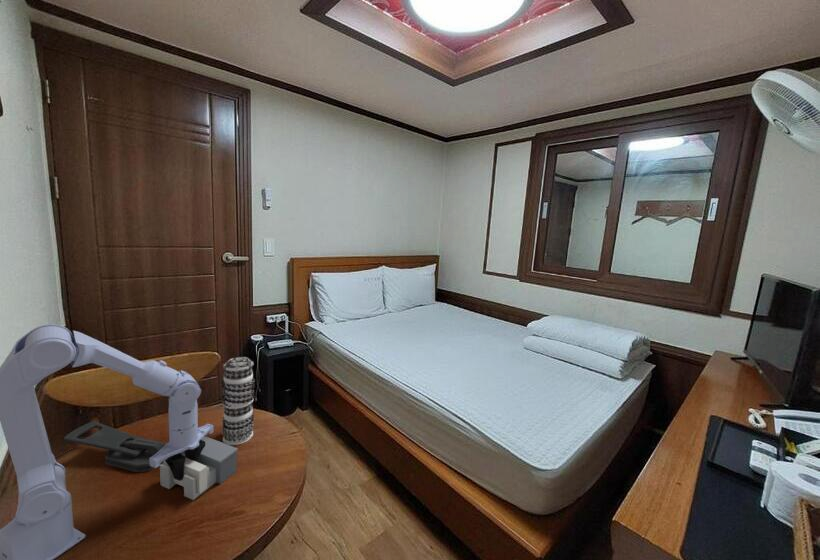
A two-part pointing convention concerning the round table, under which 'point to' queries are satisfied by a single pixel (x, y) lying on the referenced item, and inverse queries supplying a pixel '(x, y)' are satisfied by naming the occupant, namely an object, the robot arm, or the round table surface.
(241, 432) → the decorative candle
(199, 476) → the door panel
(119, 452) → the zipper pull
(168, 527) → the round table surface
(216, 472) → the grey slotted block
